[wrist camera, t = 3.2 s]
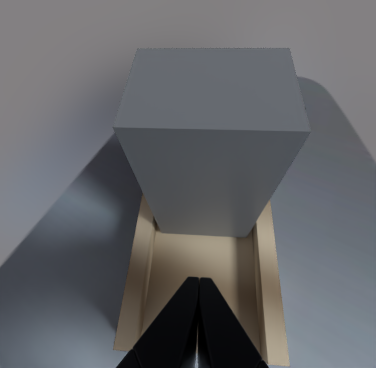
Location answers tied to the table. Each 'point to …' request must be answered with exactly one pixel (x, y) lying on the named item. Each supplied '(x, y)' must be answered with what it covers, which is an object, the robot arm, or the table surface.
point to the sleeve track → (206, 267)
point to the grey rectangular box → (211, 134)
